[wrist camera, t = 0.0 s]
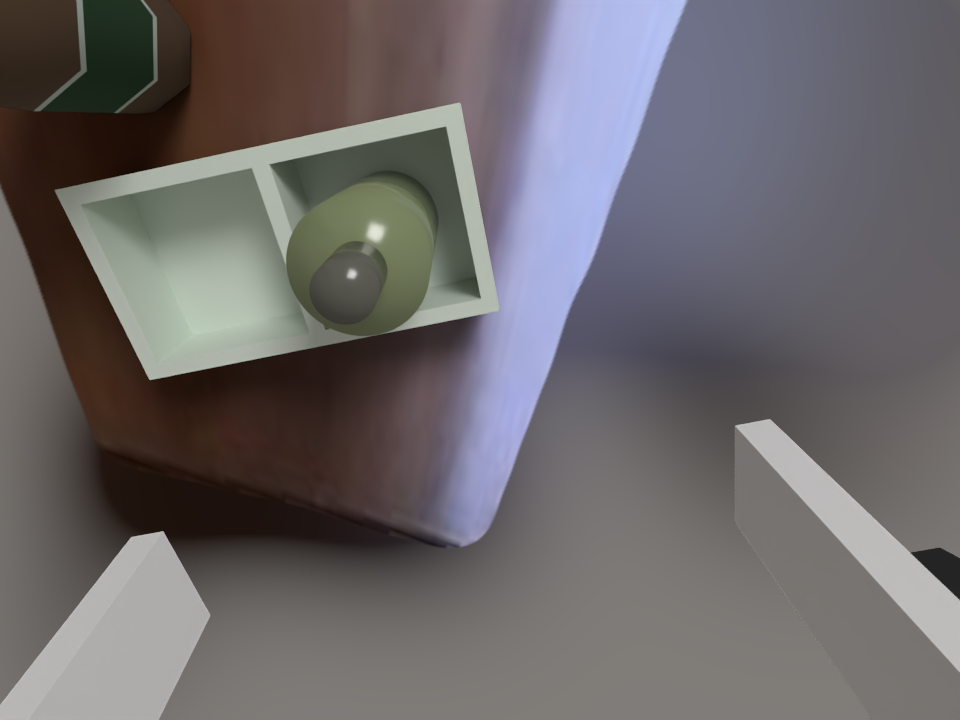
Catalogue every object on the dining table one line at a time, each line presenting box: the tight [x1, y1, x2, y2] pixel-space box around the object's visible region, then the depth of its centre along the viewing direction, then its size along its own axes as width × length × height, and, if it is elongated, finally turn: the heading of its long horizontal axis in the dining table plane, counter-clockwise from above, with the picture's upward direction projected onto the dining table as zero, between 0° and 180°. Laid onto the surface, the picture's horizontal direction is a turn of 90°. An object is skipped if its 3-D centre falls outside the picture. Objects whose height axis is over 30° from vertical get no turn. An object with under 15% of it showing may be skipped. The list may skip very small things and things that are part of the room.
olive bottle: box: [286, 171, 439, 336], centre depth 29 cm, size 6×6×17 cm
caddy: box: [55, 103, 500, 380], centre depth 34 cm, size 12×23×6 cm, turn 101°
